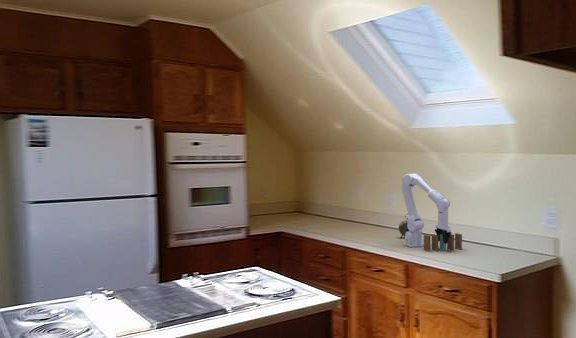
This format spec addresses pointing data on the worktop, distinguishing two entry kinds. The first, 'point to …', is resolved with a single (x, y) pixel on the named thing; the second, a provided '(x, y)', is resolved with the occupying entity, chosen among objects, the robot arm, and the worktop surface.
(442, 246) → the teal domino
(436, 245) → the domino
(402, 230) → the alarm clock
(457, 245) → the domino
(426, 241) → the brown wooden block
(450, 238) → the domino
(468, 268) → the worktop surface
